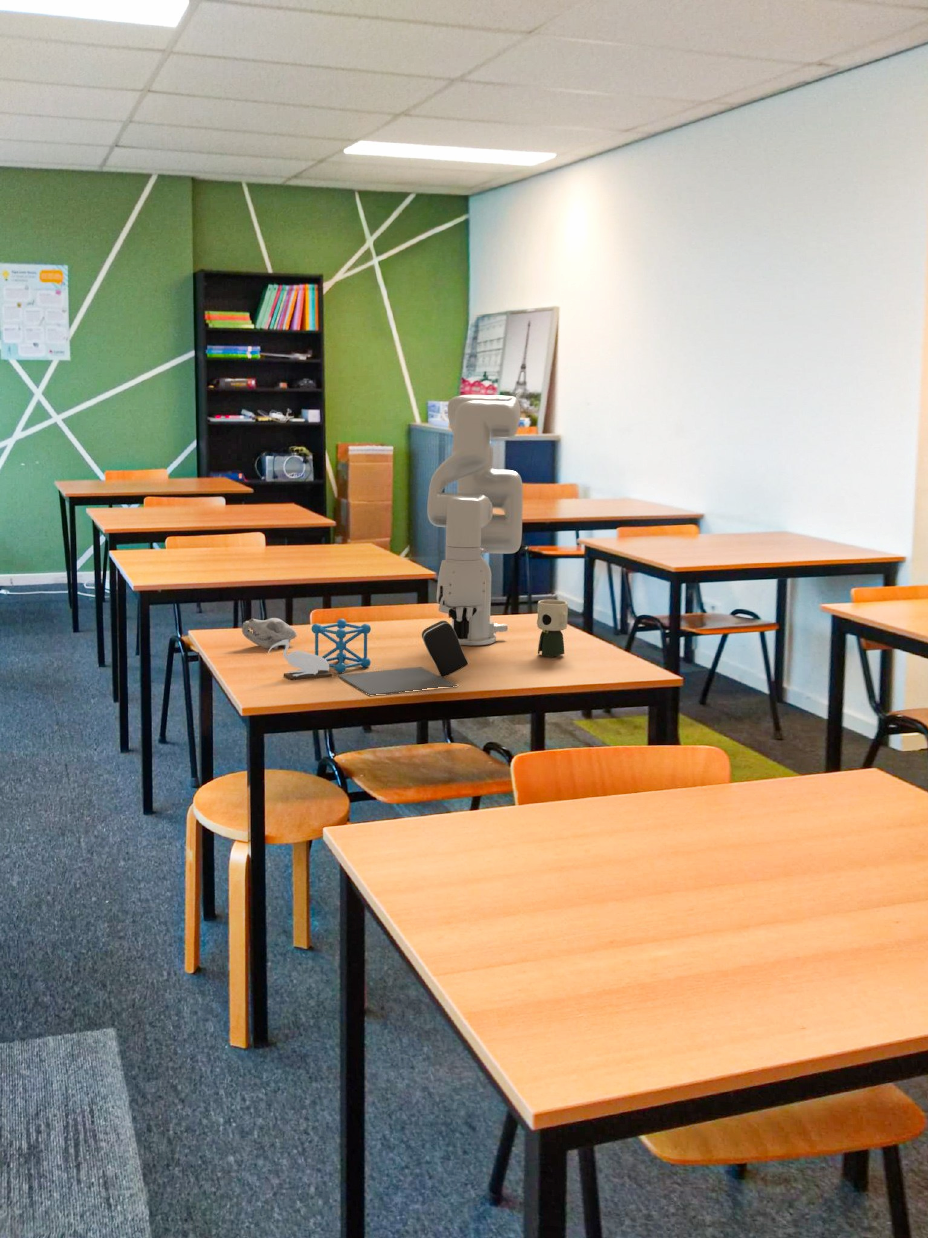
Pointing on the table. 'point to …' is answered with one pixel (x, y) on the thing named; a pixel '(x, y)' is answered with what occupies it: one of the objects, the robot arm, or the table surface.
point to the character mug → (552, 626)
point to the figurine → (304, 664)
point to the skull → (268, 632)
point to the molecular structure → (343, 644)
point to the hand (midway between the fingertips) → (461, 638)
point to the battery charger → (444, 648)
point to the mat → (395, 680)
